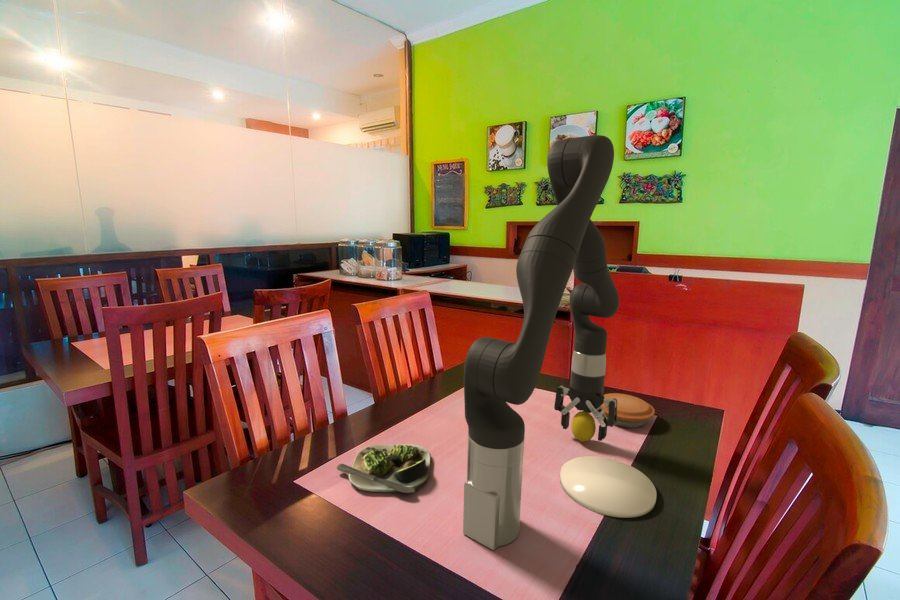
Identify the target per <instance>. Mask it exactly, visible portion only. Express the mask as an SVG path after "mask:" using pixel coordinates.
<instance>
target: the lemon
mask: <svg viewBox="0 0 900 600" xmlns="http://www.w3.org/2000/svg"><path fill="white" fill-rule="evenodd" d="M592 415H593V414H592V413H587V412H585V411H578V412H577V413H576V414H574V416H573V418H572V420H571V433H572V434H573V437H574V438H576V439H577V440H578V441H580V443H584V442H588V441H590V440H592V438H594V436H595V434H596V429H597V428H596V427H597V426H596V421H595V417H594V416H592Z"/></svg>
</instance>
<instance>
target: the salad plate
mask: <svg viewBox="0 0 900 600" xmlns="http://www.w3.org/2000/svg"><path fill="white" fill-rule="evenodd" d="M431 463H432V457H431V452H430V451H429V450H428V449H427V448H425V447H424V446H421V445H420V444H413V443H412V444H411V443H410V444H409V443H407V444H405V443H404V444H388V443H387V444H386V443H385V444H378V443H377V444H371V445H369V446H365V448H362V449H361V450H359V451H358V452H357V453H356V456H355V458H354V460H353V463H352V465H351V466H349V465H348V464H344V463H339V464H337V466H336V470H337V471H338V472H339V471H340V472H341V473H343V474H346V475H347V476H348V477H347V478H348V481H349V483H351V485H353V486H354V487H356V488H357V489H359V490H361V491H365V492H372V493H373V492H374V493H375V492H377V493H378V492H379V493H395V494H396V493H397V494H402V493H403V494H413V493H416V490H419V489H420V488H422V487H423V486H424V485H425V484H426V483H427V481H428V480H429V477H430V474H431ZM418 488H419V489H418Z"/></svg>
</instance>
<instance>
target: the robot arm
mask: <svg viewBox="0 0 900 600" xmlns="http://www.w3.org/2000/svg"><path fill="white" fill-rule="evenodd" d="M614 159H615V148H614V144H613V141H612V140H611V139H610V138H609V137H608V136H606V135H601V134H600V135H599V134H593V135H584V136H576V137H569V138H562V139H558V140H556V141H555V142H553V143H552V145H551V146H550V148H549V151H548V155H547V161H546V162H547V164H546V166H547V174H548V178H549V181H550V186H551V189H552V193H553V196H554V199H555V201H556V204H557V206H555V207H554V208H553V209H552V210H551V211H549V212H548V213H547V214H546V215H544V216H543V217H542V218H541V219H540V220H539V221H537V223H536V224H535V225H534V226H533V227H532V229H531V230H530V232H529V233H528V235H527V237H526V239H525V242H524V244H523V247H522V249H521V251H520V254H519V256H518V259H517V262H516V268H515V269H516V270H515V271H516V273H515V274H516V275H515V276H516V280H517V285H518V290H519V293H520V296H521V301H522V305H523V306H522V307H523V320H522V321H523V322H522V326H521V330H520V333H519V335H518V338H517V340H516V342H513V341H508V340H504V339H499V338H494V337H490V336H489V337H488V336H482V337H479V338H477V339H476V340H474V341H473V343H472V344H471V346H469V348H468V351H467V354H466V356H465V361H464V367H463V393H464V394H463V395H464V396H463V397H464V399H463V400H464V419H465V422H466V424H467V428H468V430H467V435H468V436H467V460H466V461H467V465H466V467H467V469H466V480H465V482H464V484H463V487H464V488H463V512H462V513H463V515H462V516H463V517H462V519H463V520H462V534H464V535H465V536H467V537H469V538H471V539H472V540H474V541H476V542H477V543H479V544H481V545H482V546H485V547H486V548H488V549H490V550H492V551H495V550H496V549H497V548H498V547H502V546H506V545H509V544H511V543H512V542H513V541H515V540H516V539H517V538H518V535H519V534H520V523H521V522H520V521H521V503H522V502H521V501H522V487H523V486H522V485H523V483H522V482H523V467H524V451H525V433H526V432H525V431H526V427H525V426H526V424H525V421H524V418H522V416H521V415H520V414H519V413H518V411H516V410H515V409H513V408H512V407H511V406H510V405H515V406H519V405H523V404H525V403H526V402H527V401H528V400H529V398H530V397H531V396H532V394H533V392H534V391H535V389H536V386H537V384H538V381H539V377H540V375H541V371H542V368H543V364H544V361H545V360H544V359H545V355H546V353H547V347H548V345H549V340H550V337H551V332H552V330H553V329H552V328H553V325H554V322H555V319H556V315H557V313H558V310H559V308H560V304H561V301H562V298H563V296H564V293H565V291H566V290H565V289H566V288H567V285H568V282H569V279H570V277H571V275H572V272H573V275H574V277H575V278H574V279H576V281H578V282H581V283H578V284H576V285H575V286H573V288H572V289H571V292H570V294H569V308H570V309H569V310H570V312H571V316H572V321H573V329H574V344H573V353H572V357H571V358H572V359H571V370H570V383H569V388H568V387H566V386H565V385H564V384H561V385H560V386H558V387H557V388H556V393H555V400H554V406H553V407H554V410H555V411H558V412H560V414H561V416H560V417H561V419H560V425H561V427H562V429H563V430H567V429H568V428H569V427H570V418H571V417H570V415H571V413H570V411H571V410H572V409H573V408H574V407H575V409H576V410H577V411H580V412H583V411H585V412H587V413H589V414H591V415H593V418H594V419H596V420H597V422H598V423H599V425H598V432H597V441H600V442H602V440H605V438H606V437H607V433H608V427H611V428H613V427H614V426H615V423H616V422H617V399H615V398H613V399H612V400H611V399H607V398H604V395H605V394H604V391H605V380H606V379H605V378H606V372H607V357H606V355H607V354H606V352H607V342H608V331H607V329H606V328H605V327H603V326H601V325H599V324H596V323H594V322H593V321H592V320H591V318H590V317H597V318H603V319H604V318H605V319H608V318H611V317H613V316H615V314H616V313H617V312H618V311H619V307H620V297H619V293H618V290H617V287H616V285H615V283H614V281H613V278H612V276H611V273H610V271H609V268H608V261H607V251H606V243H605V240H604V237H603V235H602V233H601V231H600V230H599V228H598V227H597V225H596V224H595V223H594V222H593V220H592V219H591V217H592V215H593V213H594V210H596V209H595V208H596V207H597V205H598V203H599V200H600V198H601V196H602V194H603V192H604V190H605V188H606V185H607V184H608V180H609V179H610V176H611V173H612V170H613V167H614V162H615V160H614ZM567 395H568V398H569V399H570V403H569V404H567V405H566V406H565V405H564V399H565V397H566V396H567ZM603 403H604V404H605V405H606V407H607V409H609V414H608V419H607V417H606V415H605V413H604V410H603V408H602V407H601V405H602V404H603ZM509 404H510V405H509Z"/></svg>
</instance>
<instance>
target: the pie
mask: <svg viewBox="0 0 900 600" xmlns="http://www.w3.org/2000/svg"><path fill="white" fill-rule="evenodd" d="M603 395H604V398H607V399H611V400H612V399H613V398H615V399H617V422H616V423H615V424H614V426H618V427H623V428H639V427H642V426H644V425H645V424H646V423H647V422H648V421H649V420H650V419H652V418H653V417H654V415H655V413H656V410H655V408H654V407H653V405H651V404H650V403H648V402H647V401H645V400H643V399H641V398H640V397H637V396H635V395H634V396H633V395H630V394H625V393H619V392H613V393H610V392H609V393H605V394H603ZM601 407H602V408H603V410H604V413H605V415H606V417H607V419H608V414H609V409H607V407H606V405H605V404H604V403H603V404H602V405H601Z"/></svg>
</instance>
